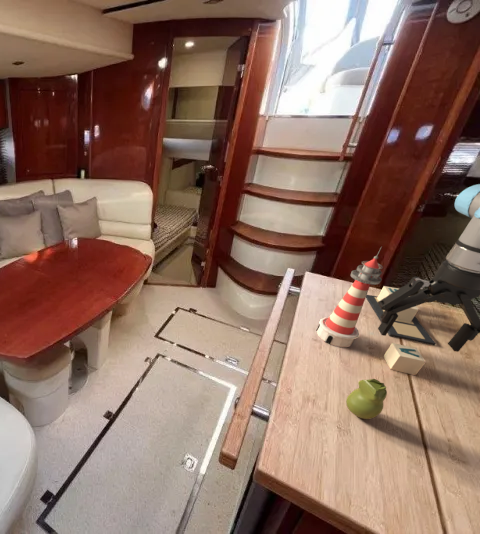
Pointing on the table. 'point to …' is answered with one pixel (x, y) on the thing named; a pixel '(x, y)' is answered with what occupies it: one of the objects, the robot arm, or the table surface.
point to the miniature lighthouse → (350, 307)
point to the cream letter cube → (404, 359)
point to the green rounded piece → (367, 399)
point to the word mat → (403, 326)
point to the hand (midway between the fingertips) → (415, 339)
